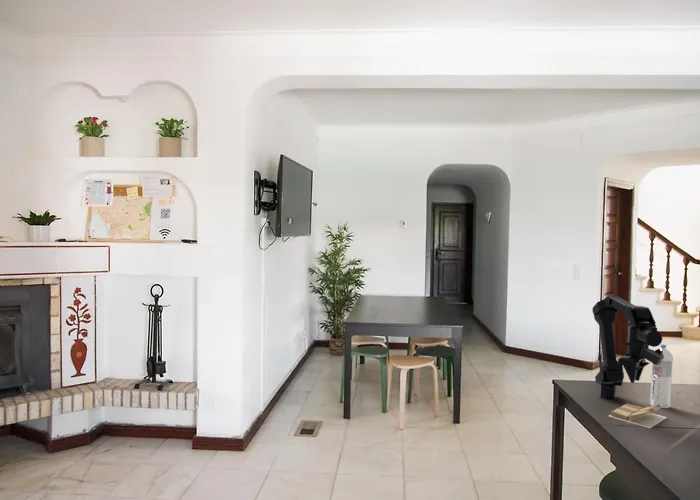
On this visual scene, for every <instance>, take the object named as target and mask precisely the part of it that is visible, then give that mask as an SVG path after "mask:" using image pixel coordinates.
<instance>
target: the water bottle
mask: <svg viewBox="0 0 700 500" xmlns="http://www.w3.org/2000/svg"><path fill="white" fill-rule="evenodd" d="M659 349H660V350H662V351H663V355H664V359H662V361H661V363H660V364H658V365H655V364H653V363H652V365H651V375H650V376H651V377H650V378H651V379H650V395H649V404H650V405H651V406H653V405H657V404H659V405H660V407H661V408H660V409H669V408H670V407H671V396H672V393H671V392H672V382H673V381H672V379H673V376H672V374H673V373H672V372H673V361H674V357H673V354H672V353H671V352H670V351H669V350H668V349H667V344H662V343H661V344H660V348H659Z"/></svg>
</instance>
